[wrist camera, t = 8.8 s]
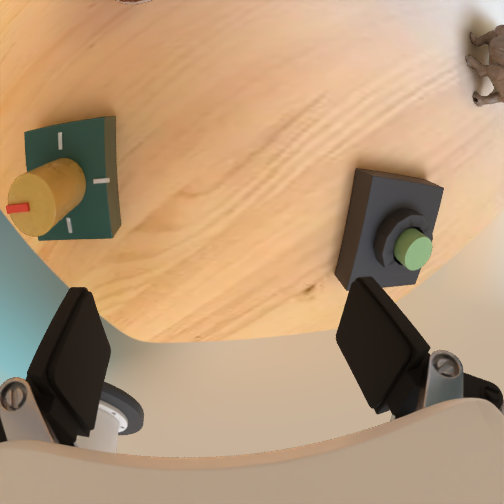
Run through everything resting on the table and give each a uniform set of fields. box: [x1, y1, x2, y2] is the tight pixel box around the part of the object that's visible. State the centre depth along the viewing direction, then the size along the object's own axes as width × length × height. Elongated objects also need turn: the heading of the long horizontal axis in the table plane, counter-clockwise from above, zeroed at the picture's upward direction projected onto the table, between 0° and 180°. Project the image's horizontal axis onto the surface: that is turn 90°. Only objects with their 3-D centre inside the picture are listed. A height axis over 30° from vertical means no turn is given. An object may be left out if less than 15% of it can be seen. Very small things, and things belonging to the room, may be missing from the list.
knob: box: [6, 158, 86, 237], centre depth 16 cm, size 4×4×6 cm
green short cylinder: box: [394, 228, 432, 271], centre depth 24 cm, size 4×4×2 cm
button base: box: [335, 168, 444, 291], centre depth 27 cm, size 12×10×5 cm
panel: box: [24, 116, 121, 241], centre depth 20 cm, size 10×9×3 cm
